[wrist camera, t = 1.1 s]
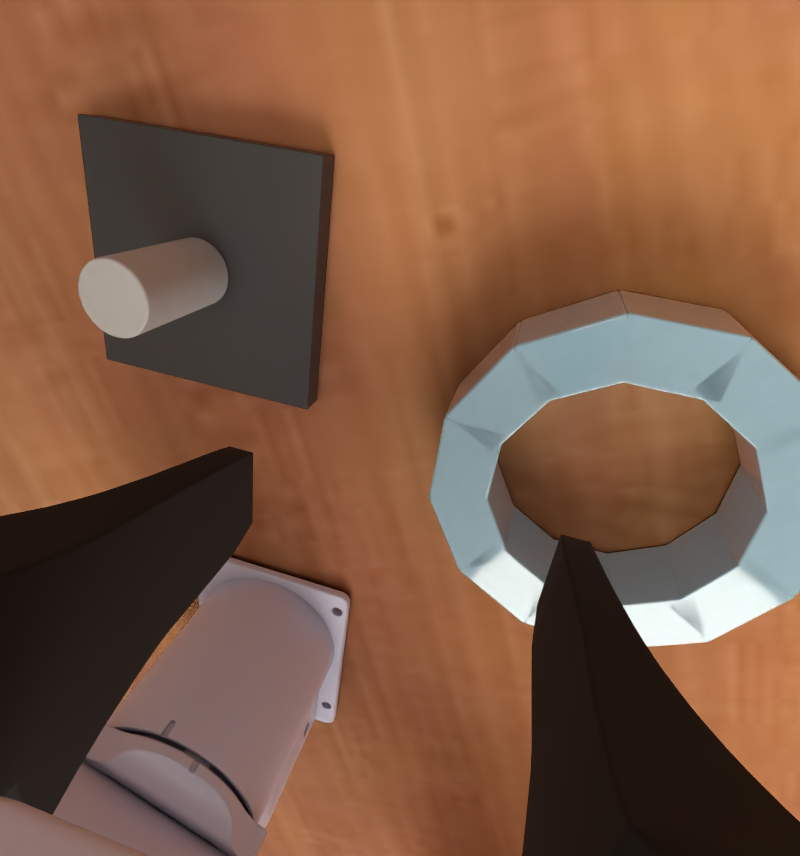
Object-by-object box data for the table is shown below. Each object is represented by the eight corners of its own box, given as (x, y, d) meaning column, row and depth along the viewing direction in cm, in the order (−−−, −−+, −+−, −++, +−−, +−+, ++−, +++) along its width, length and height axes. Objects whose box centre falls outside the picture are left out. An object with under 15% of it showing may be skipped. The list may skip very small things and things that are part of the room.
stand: (317, 400, 22) (250, 466, 18) (123, 352, 24) (12, 401, 19) (335, 154, 18) (253, 154, 13) (98, 114, 20) (-51, 102, 15)
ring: (718, 625, 22) (738, 688, 19) (426, 543, 24) (410, 589, 22) (881, 339, 16) (941, 374, 14) (483, 263, 18) (470, 281, 16)
